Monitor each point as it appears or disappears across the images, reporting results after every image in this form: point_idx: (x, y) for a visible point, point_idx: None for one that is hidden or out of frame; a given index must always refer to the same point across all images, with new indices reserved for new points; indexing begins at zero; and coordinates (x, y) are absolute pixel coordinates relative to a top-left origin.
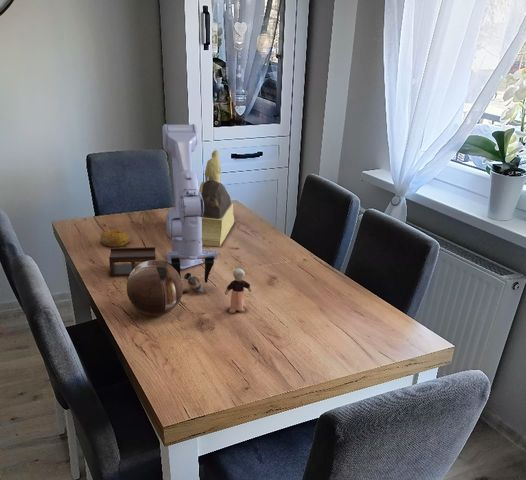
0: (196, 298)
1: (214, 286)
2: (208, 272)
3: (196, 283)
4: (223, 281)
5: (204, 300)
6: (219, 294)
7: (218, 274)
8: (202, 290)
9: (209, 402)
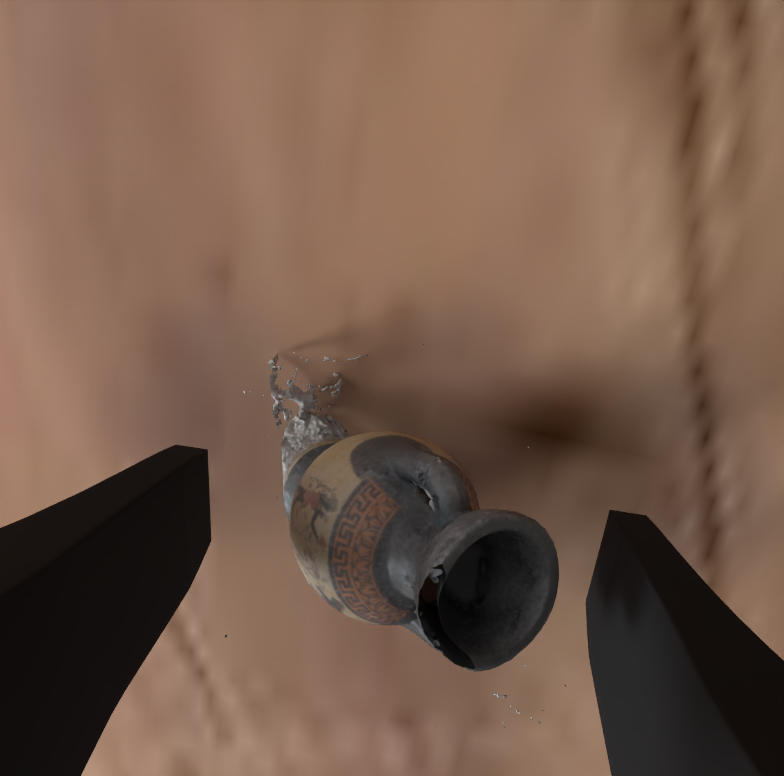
0: (410, 211)
1: None
2: (24, 528)
3: (351, 452)
4: None
5: (298, 115)
6: (78, 278)
7: None
8: (291, 395)
9: None
